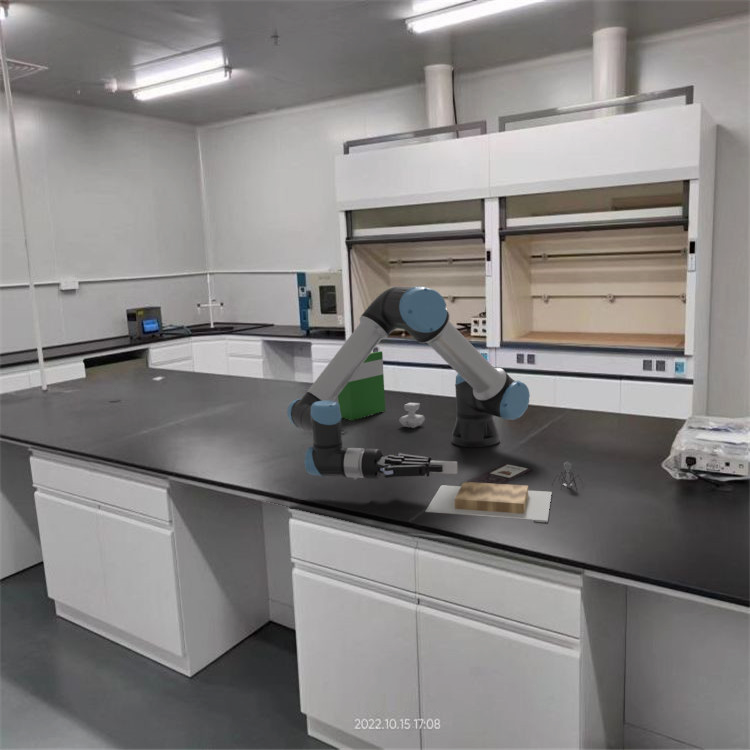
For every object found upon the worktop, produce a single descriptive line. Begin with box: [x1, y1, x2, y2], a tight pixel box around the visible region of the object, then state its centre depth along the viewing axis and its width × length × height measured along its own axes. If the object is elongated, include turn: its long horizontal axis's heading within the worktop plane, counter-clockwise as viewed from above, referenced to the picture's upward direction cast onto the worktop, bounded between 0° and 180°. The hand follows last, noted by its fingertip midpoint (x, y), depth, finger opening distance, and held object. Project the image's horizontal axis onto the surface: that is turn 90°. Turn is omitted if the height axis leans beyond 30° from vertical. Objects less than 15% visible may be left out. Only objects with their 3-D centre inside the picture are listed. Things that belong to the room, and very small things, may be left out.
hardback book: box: [337, 350, 386, 421], centre depth 250 cm, size 18×7×24 cm, turn 134°
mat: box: [424, 484, 553, 523], centre depth 157 cm, size 18×28×1 cm, turn 72°
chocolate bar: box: [466, 463, 533, 484], centre depth 175 cm, size 9×1×18 cm
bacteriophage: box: [551, 461, 583, 491], centre depth 165 cm, size 7×8×7 cm
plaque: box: [455, 481, 529, 514], centre depth 156 cm, size 12×2×16 cm
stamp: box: [398, 402, 426, 429], centre depth 230 cm, size 9×7×8 cm
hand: (456, 467), depth 157 cm, fingers closed
